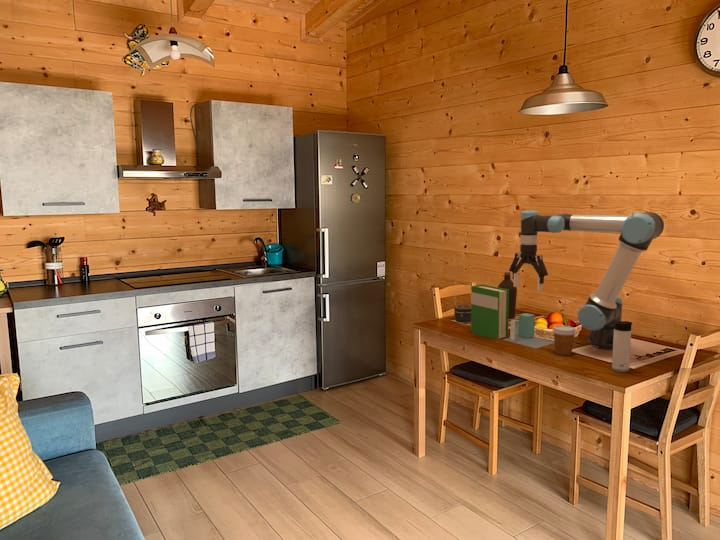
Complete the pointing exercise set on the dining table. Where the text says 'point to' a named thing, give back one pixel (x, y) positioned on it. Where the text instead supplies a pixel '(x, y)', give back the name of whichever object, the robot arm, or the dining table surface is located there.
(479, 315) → the hardback book
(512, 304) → the olive oil
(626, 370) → the travel mug
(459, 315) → the jar
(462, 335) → the dining table surface
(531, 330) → the grey-green piece
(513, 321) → the post
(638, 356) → the dining table surface
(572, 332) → the disposable coffee cup
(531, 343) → the board
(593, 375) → the dining table surface
